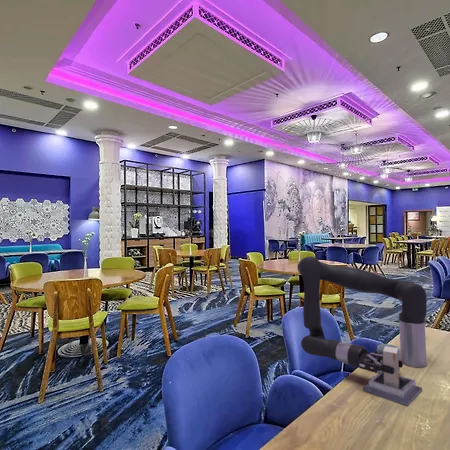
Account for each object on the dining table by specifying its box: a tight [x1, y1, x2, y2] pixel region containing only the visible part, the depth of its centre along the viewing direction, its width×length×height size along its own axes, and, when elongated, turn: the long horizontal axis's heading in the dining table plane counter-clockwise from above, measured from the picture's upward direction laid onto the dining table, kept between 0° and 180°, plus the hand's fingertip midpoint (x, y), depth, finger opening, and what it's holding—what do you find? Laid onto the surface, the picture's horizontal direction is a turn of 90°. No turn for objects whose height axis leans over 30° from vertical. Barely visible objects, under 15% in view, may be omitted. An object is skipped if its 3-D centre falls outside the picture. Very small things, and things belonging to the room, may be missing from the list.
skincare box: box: [383, 346, 400, 388], centre depth 110 cm, size 6×4×12 cm
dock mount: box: [362, 371, 423, 407], centre depth 110 cm, size 14×14×4 cm
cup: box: [376, 343, 401, 372], centre depth 123 cm, size 8×8×10 cm
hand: (398, 367), depth 108 cm, fingers closed on skincare box, 7 cm apart
